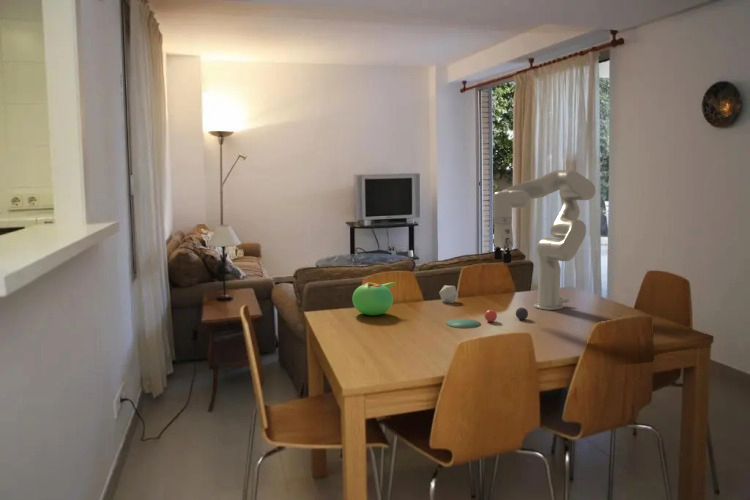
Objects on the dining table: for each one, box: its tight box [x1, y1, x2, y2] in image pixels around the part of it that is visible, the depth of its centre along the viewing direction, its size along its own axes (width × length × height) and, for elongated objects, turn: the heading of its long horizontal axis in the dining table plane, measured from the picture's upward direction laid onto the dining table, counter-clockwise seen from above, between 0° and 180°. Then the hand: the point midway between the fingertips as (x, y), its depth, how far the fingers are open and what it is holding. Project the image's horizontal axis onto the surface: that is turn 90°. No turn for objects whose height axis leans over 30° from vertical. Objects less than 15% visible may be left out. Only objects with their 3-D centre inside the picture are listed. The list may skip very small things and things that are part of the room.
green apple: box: [351, 281, 397, 316], centre depth 248 cm, size 18×17×15 cm
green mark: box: [445, 318, 482, 329], centre depth 232 cm, size 14×14×1 cm
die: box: [438, 284, 459, 304], centre depth 271 cm, size 8×9×10 cm
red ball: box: [484, 309, 498, 323], centre depth 234 cm, size 5×5×5 cm
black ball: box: [515, 307, 529, 321], centre depth 237 cm, size 5×5×5 cm
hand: (502, 261), depth 241 cm, fingers open, 9 cm apart
